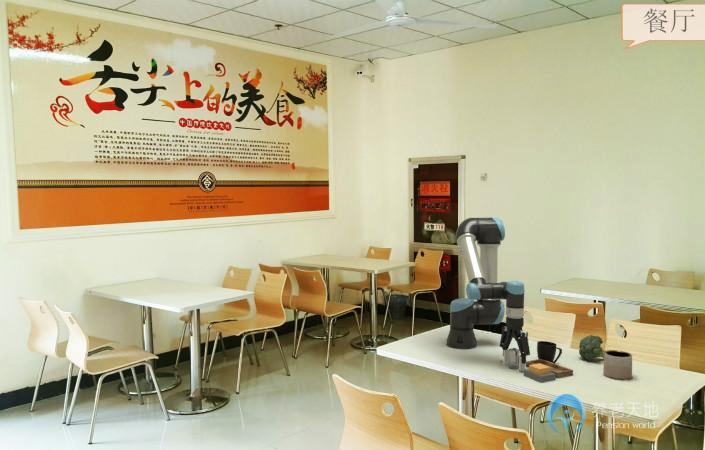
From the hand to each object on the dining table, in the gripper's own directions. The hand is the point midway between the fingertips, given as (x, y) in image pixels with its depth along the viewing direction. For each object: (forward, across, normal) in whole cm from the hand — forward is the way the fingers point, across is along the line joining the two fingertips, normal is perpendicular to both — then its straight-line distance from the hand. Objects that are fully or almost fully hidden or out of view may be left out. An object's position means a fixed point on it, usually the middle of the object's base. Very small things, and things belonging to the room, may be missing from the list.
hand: (514, 367), depth 243 cm
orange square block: (-1, +15, 0) cm, 15 cm away
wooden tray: (0, +10, +10) cm, 14 cm away
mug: (+1, +3, +18) cm, 18 cm away
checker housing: (0, +15, 0) cm, 15 cm away
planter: (0, +28, +31) cm, 42 cm away
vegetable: (0, +7, +42) cm, 42 cm away
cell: (0, 0, 0) cm, 0 cm away
